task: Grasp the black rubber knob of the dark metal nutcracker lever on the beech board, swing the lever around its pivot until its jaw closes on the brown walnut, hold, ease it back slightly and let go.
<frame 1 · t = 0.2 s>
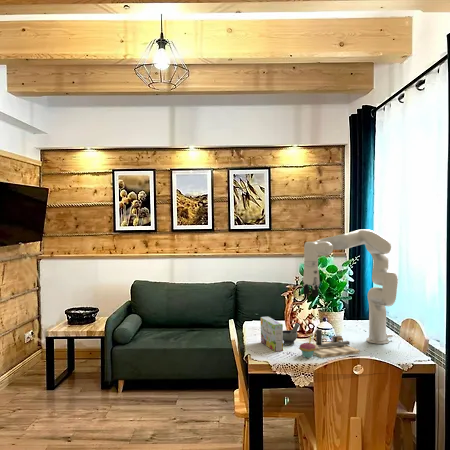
hand: (310, 295, 291), 30 cm above the table, tool pointing down, fingers open, 9 cm apart
board: (329, 350, 290), on the table
mortar and pestle: (290, 344, 304), on the table
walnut: (339, 345, 300), resting on board
anvil: (337, 344, 303), resting on board
snack box: (271, 347, 299), on the table
cupcake: (307, 356, 278), on the table
lever: (332, 337, 291), point 7 cm above the table, hinge at 0.0°
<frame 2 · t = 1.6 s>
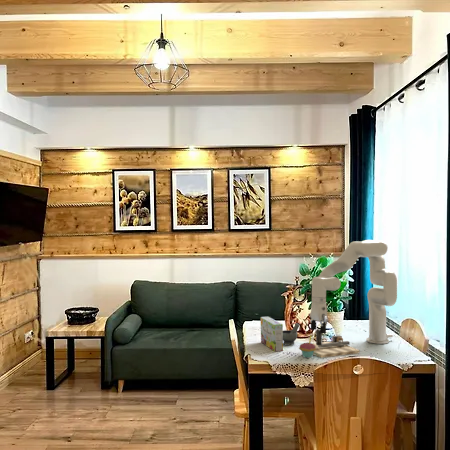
hand: (318, 331, 288), 11 cm above the table, tool pointing down, fingers open, 9 cm apart
nothing on the table moved.
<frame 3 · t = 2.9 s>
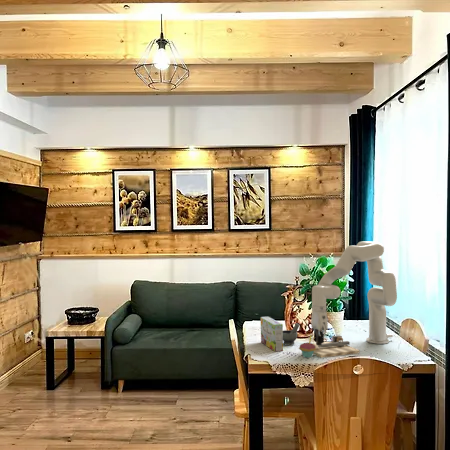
hand: (318, 341, 288), 5 cm above the table, tool pointing down, fingers closed on lever, 3 cm apart
lever: (332, 337, 291), point 7 cm above the table, hinge at 0.0°, touching gripper
everything else where it was.
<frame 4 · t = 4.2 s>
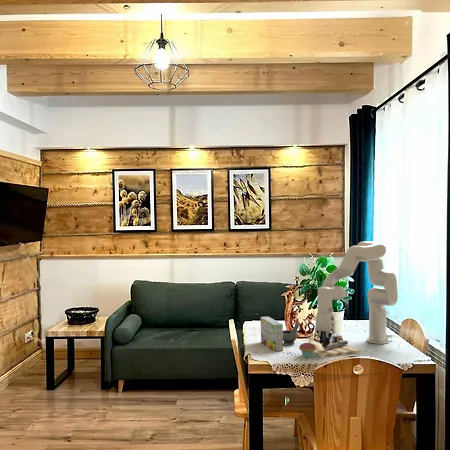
hand: (324, 343, 284), 5 cm above the table, tool pointing down, fingers closed on lever, 3 cm apart
lever: (335, 337, 290), point 7 cm above the table, hinge at 19.4°, touching gripper
everything else where it was.
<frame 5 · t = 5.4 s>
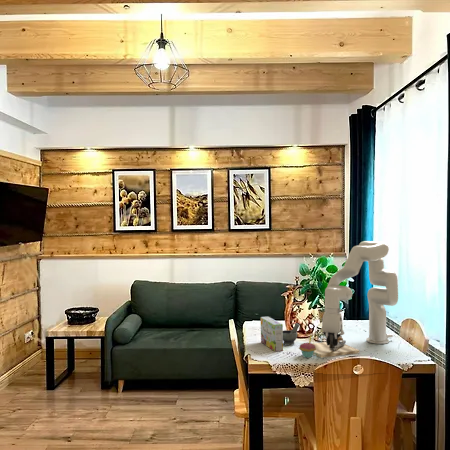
hand: (332, 345, 281), 5 cm above the table, tool pointing down, fingers closed on lever, 3 cm apart
lever: (337, 338, 289), point 7 cm above the table, hinge at 37.2°, touching gripper
everything else where it was.
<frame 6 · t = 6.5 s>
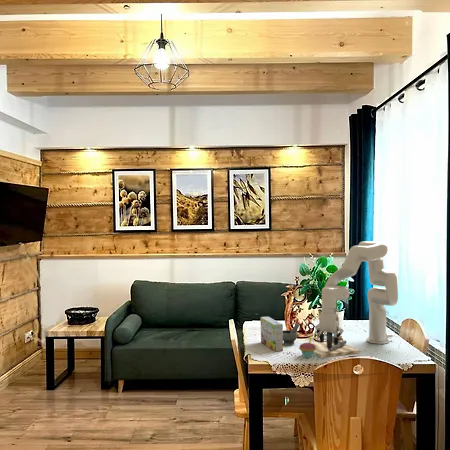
hand: (328, 343, 282), 6 cm above the table, tool pointing down, fingers open, 7 cm apart
lever: (336, 338, 289), point 7 cm above the table, hinge at 31.3°
everything else where it was.
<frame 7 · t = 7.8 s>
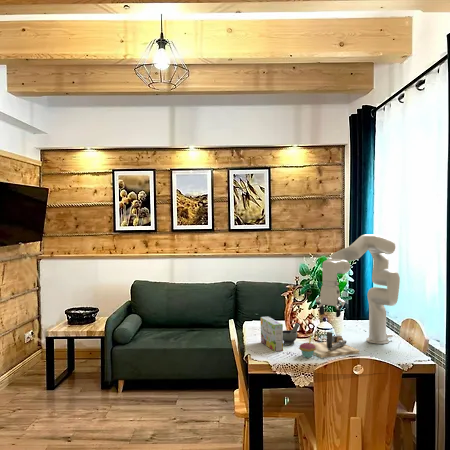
hand: (329, 315, 283), 20 cm above the table, tool pointing down, fingers open, 9 cm apart
nothing on the table moved.
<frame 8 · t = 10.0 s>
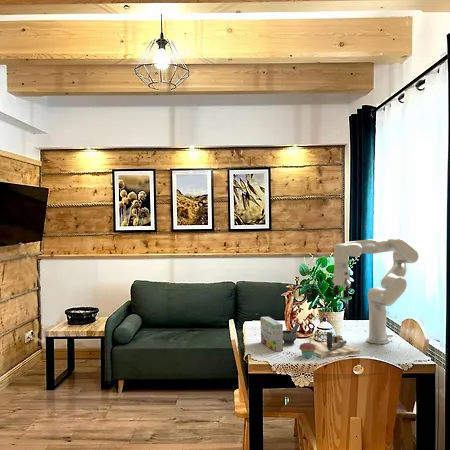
hand: (341, 295, 299), 28 cm above the table, tool pointing down, fingers open, 9 cm apart
nothing on the table moved.
at the end: lever at +31° (first picture: +0°); the gripper is holding nothing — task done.
